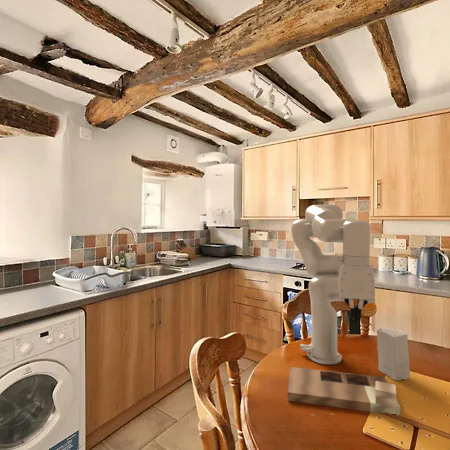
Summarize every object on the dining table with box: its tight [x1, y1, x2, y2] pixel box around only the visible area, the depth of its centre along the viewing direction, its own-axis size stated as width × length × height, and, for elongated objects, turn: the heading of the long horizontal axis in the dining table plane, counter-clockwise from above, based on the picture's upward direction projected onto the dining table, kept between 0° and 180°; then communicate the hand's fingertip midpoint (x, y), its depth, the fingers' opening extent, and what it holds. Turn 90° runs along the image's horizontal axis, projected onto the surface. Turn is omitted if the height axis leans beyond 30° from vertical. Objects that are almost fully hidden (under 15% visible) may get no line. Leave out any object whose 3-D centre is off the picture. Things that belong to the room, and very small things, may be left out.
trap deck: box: [287, 366, 401, 416], centre depth 93 cm, size 30×16×2 cm, turn 75°
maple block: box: [375, 381, 397, 408], centre depth 84 cm, size 5×5×4 cm
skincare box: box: [376, 327, 411, 381], centre depth 103 cm, size 8×6×15 cm
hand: (355, 320), depth 92 cm, fingers closed
